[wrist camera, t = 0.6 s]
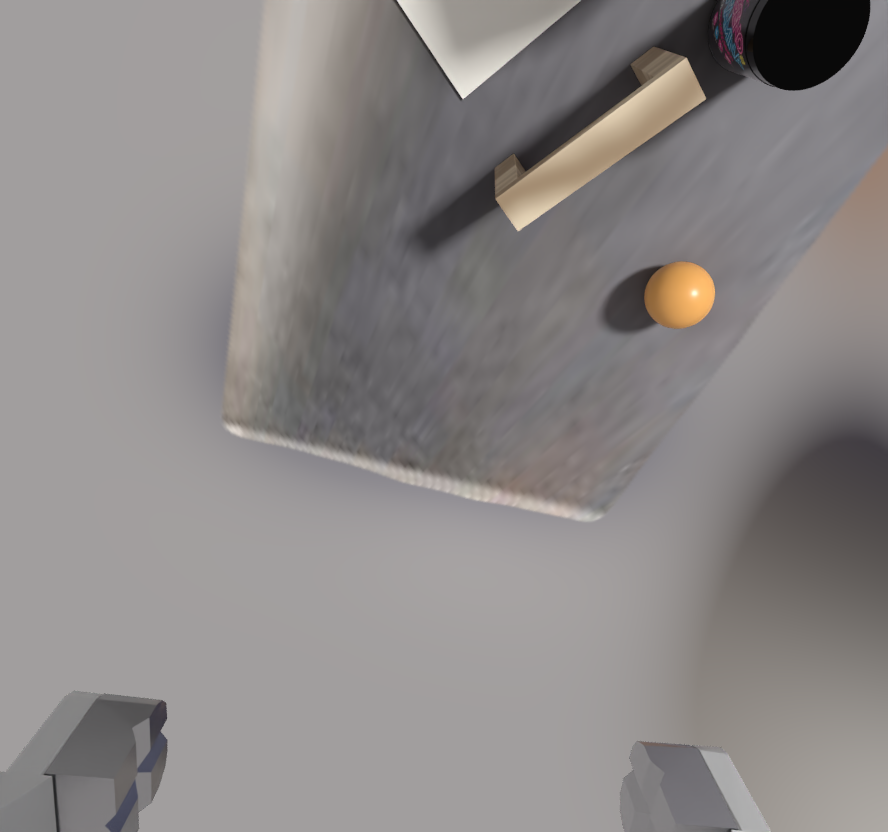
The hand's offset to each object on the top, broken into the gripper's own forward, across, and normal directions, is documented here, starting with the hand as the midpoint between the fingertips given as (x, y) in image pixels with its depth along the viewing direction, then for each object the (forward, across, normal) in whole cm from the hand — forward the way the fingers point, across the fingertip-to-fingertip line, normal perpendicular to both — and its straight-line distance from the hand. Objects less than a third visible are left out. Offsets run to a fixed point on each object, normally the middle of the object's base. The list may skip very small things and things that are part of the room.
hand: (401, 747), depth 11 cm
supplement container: (+45, -22, -26) cm, 56 cm away
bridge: (+47, -11, -18) cm, 52 cm away
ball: (+48, -22, -5) cm, 53 cm away
